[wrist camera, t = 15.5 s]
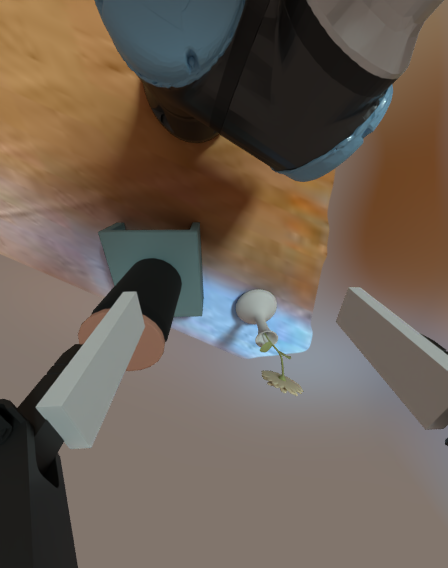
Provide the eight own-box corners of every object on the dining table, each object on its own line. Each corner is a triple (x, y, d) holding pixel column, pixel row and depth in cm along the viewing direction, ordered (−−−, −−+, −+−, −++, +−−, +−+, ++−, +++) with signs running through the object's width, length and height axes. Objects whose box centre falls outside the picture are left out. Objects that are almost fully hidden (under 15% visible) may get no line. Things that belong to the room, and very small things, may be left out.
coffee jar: (119, 272, 40) (57, 336, 24) (160, 245, 37) (121, 297, 22) (154, 308, 44) (122, 380, 29) (192, 286, 42) (180, 352, 26)
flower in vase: (226, 304, 55) (235, 390, 33) (257, 278, 51) (290, 355, 29) (256, 328, 60) (281, 416, 38) (286, 306, 56) (333, 389, 34)
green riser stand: (116, 222, 43) (98, 232, 36) (199, 222, 43) (197, 231, 36) (136, 298, 52) (124, 318, 45) (203, 297, 53) (202, 316, 46)
